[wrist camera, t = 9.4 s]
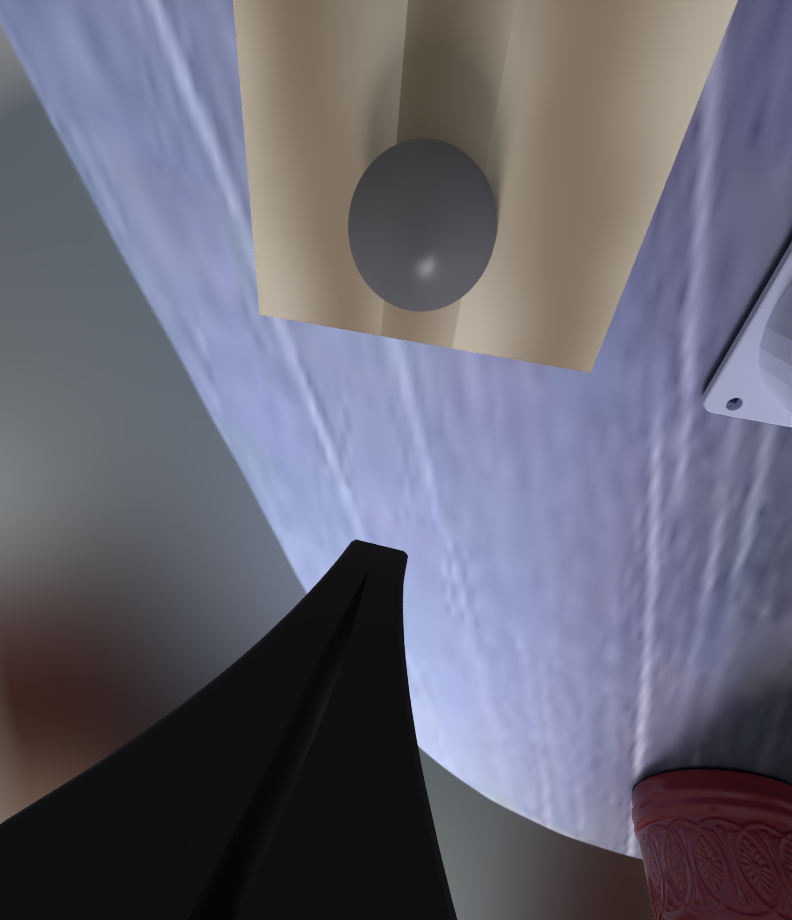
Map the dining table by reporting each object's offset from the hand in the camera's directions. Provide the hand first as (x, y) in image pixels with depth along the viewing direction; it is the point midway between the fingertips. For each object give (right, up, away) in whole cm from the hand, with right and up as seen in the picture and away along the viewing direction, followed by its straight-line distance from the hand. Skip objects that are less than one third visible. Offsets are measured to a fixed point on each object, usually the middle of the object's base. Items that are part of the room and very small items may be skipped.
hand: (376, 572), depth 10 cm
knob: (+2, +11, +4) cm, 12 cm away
